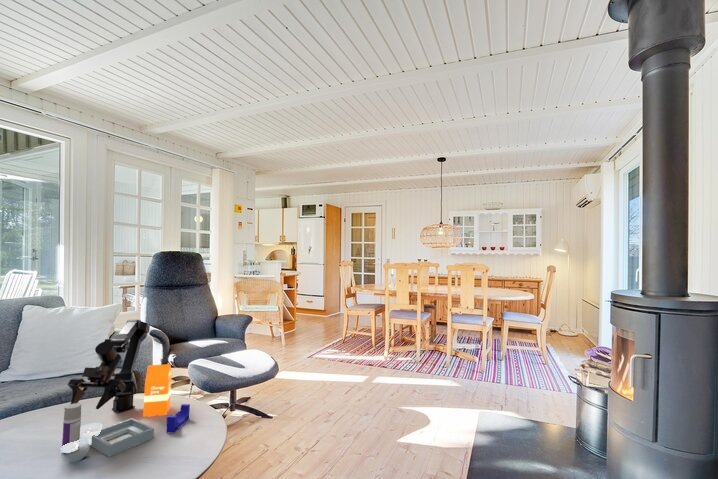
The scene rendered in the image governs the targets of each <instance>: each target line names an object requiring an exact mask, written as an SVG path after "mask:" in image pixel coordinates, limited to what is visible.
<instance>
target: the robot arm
mask: <svg viewBox="0 0 718 479" xmlns="http://www.w3.org/2000/svg"><path fill="white" fill-rule="evenodd" d="M149 332H150V325H149V323H147V322H145V321H141V320H140V319H128V320H127V321H126V322H125V325H124V326H123V328H121V330H120V331H119V333H118V334H116V335H114V336H111V337H110V338H107V339H104V341H101V342H99V343H98V345H96V346H95V349H94V350H95V353H96V355H97V357H98V359H99V360H100V361H101V362H100V364H99V366H95V367H89V366H88V367H84V370H83V372H82V375H81V377H80V378H76V377H74V378H71V379H70V380H69V381H68V383H67V384H66V385H67V386H68V387H69V389H70V390H71V391H72V396H71V402H70V404H75V403H80V400H81V399H82V398H83V396H84V395H85V394H86V392H85V391H87V390H88V389H104V391H103V393H102V395H101V396H100V399H99V400H98V402H97V405H96V406H95V409H96V410H100V408H102V407H103V406H104V405H105V404H106V403H107V402H109V401H111V400H112V399H113V398H114V399H113V402H112V408H111V410H113V411H115V412H116V413H123V412H126V411H130V410H132V409H135V407H136V406H135V405H134V395H137V394H138V384H137V383H136V377H135V376H134V369H135V366H136V362H137V359H138V355H139V351H140V348H141V347H140V346H141V344H142V342H144V340H145V339H146V338H147V337H148V334H149ZM124 353H125V356H124V359H122V356H121V354H124ZM119 364H122V366H121V370H120V371H119V372H118V373H117V372H116V370H117V368H118V366H119ZM115 372H116V373H115ZM84 377H85V378H87V379H86V380H88V381H86V380H85V379H84Z"/></svg>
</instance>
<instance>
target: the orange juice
mask: <svg viewBox="0 0 718 479" xmlns="http://www.w3.org/2000/svg"><path fill="white" fill-rule="evenodd" d="M146 370H147V371H146V374H145V375H146V377H145V381H144V396H143V414H142V415H143V418H146V417H145V416H149V417H156V416H155V415H159V416H167V415H168V413H169V411H170V408H171V396H172V394H171V393H172V374H173V373H172V367H171V364H169V363H167V364H153V365H147V369H146ZM167 412H168V413H167Z"/></svg>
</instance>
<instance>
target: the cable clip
mask: <svg viewBox="0 0 718 479" xmlns="http://www.w3.org/2000/svg"><path fill="white" fill-rule="evenodd" d="M190 405H191V404H190V403H183V404H180V409H179V411H177V412H176V413H175V415H170V414H169V415H168V416H166V430H165V431H166V433H167V434H168V433H169V434H175V433H176V432H177V431H178V430H179V429H180V428H181V427H183V425H184V424H186V422H187V421H189V419H190V408H191V406H190Z"/></svg>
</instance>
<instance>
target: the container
mask: <svg viewBox="0 0 718 479" xmlns="http://www.w3.org/2000/svg"><path fill="white" fill-rule="evenodd" d="M63 413H64V414H63V424H62V426H63V427H62V439H61V440H62V443H61V447H62V446H63V445H65V444H67V443H70V442H74V441H77V440H79V439H81V424H82V421H81V420H82V403H80V402H78V403H75V404H71V403H70V404H67V405H66V406H64V412H63Z"/></svg>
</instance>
